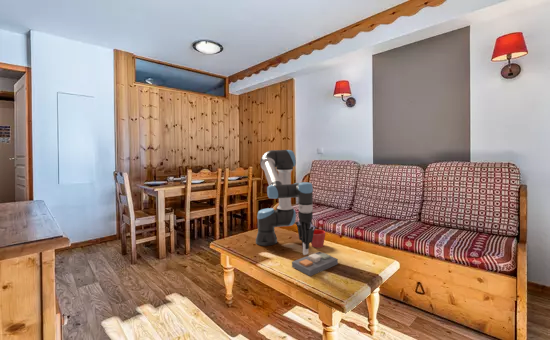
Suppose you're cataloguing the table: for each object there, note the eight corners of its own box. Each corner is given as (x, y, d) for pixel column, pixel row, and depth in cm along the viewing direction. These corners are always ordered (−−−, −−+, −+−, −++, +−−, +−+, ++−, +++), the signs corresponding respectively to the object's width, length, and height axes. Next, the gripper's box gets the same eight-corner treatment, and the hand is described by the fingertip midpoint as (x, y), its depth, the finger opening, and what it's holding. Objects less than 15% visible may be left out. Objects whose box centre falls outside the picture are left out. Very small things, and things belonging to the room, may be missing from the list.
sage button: (317, 259, 152) (317, 254, 151) (323, 257, 155) (323, 252, 154) (323, 262, 147) (323, 257, 147) (330, 260, 151) (330, 255, 150)
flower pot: (307, 243, 181) (307, 229, 181) (323, 242, 182) (323, 228, 182) (311, 249, 171) (310, 234, 170) (327, 248, 172) (327, 233, 171)
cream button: (308, 260, 147) (308, 255, 147) (314, 258, 150) (314, 253, 150) (315, 263, 143) (315, 258, 143) (321, 261, 146) (321, 256, 146)
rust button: (299, 266, 143) (299, 261, 143) (306, 264, 146) (306, 259, 146) (306, 270, 139) (305, 264, 139) (312, 267, 142) (312, 262, 142)
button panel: (292, 266, 146) (292, 261, 146) (319, 256, 159) (319, 251, 159) (310, 276, 135) (310, 270, 134) (337, 264, 148) (337, 258, 148)
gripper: (292, 210, 143) (292, 251, 145) (309, 215, 133) (309, 260, 135) (302, 208, 147) (302, 248, 150) (319, 212, 137) (319, 256, 140)
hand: (305, 253), depth 142 cm, fingers closed
